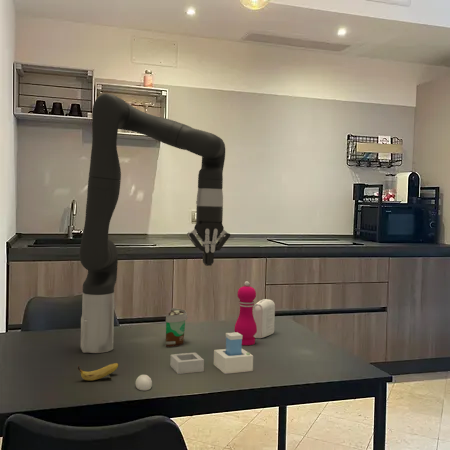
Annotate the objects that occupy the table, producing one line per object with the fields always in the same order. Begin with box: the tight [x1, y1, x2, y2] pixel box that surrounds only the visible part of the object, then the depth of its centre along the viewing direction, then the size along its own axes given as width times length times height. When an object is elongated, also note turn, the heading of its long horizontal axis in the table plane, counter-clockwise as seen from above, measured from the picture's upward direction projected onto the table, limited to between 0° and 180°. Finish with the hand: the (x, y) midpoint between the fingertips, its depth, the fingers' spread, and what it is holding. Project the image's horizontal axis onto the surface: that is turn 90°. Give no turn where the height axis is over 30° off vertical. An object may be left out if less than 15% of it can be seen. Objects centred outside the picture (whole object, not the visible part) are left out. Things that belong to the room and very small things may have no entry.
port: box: [213, 348, 254, 375], centre depth 142 cm, size 8×8×5 cm
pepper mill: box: [234, 280, 257, 346], centre depth 170 cm, size 7×7×20 cm
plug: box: [225, 331, 243, 356], centre depth 142 cm, size 3×3×9 cm
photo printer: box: [253, 298, 276, 339], centre depth 181 cm, size 10×4×12 cm, turn 148°
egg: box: [135, 374, 153, 392], centre depth 126 cm, size 4×6×4 cm, turn 16°
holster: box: [169, 352, 205, 375], centre depth 140 cm, size 7×7×4 cm
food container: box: [165, 307, 189, 348], centre depth 168 cm, size 12×6×10 cm, turn 179°
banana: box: [77, 362, 120, 381], centre depth 132 cm, size 10×2×4 cm, turn 108°
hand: (208, 265), depth 152 cm, fingers closed
